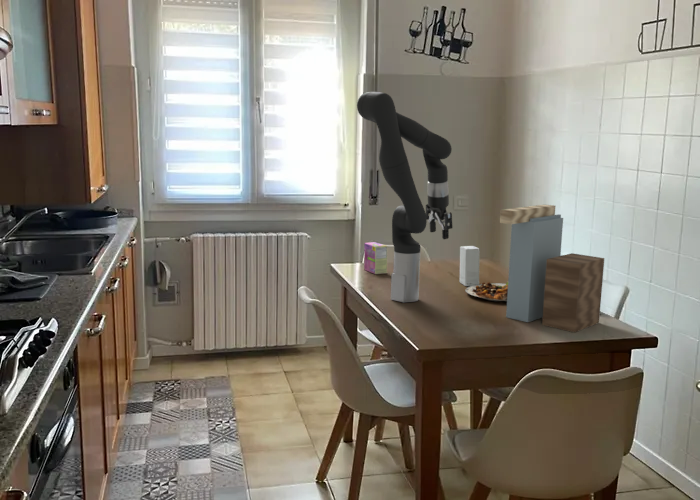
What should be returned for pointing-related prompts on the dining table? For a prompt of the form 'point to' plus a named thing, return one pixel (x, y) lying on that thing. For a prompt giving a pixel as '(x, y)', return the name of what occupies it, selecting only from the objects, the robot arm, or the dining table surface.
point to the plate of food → (489, 291)
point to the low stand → (572, 292)
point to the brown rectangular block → (525, 213)
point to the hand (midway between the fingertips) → (439, 235)
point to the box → (375, 258)
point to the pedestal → (531, 265)
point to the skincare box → (469, 265)
